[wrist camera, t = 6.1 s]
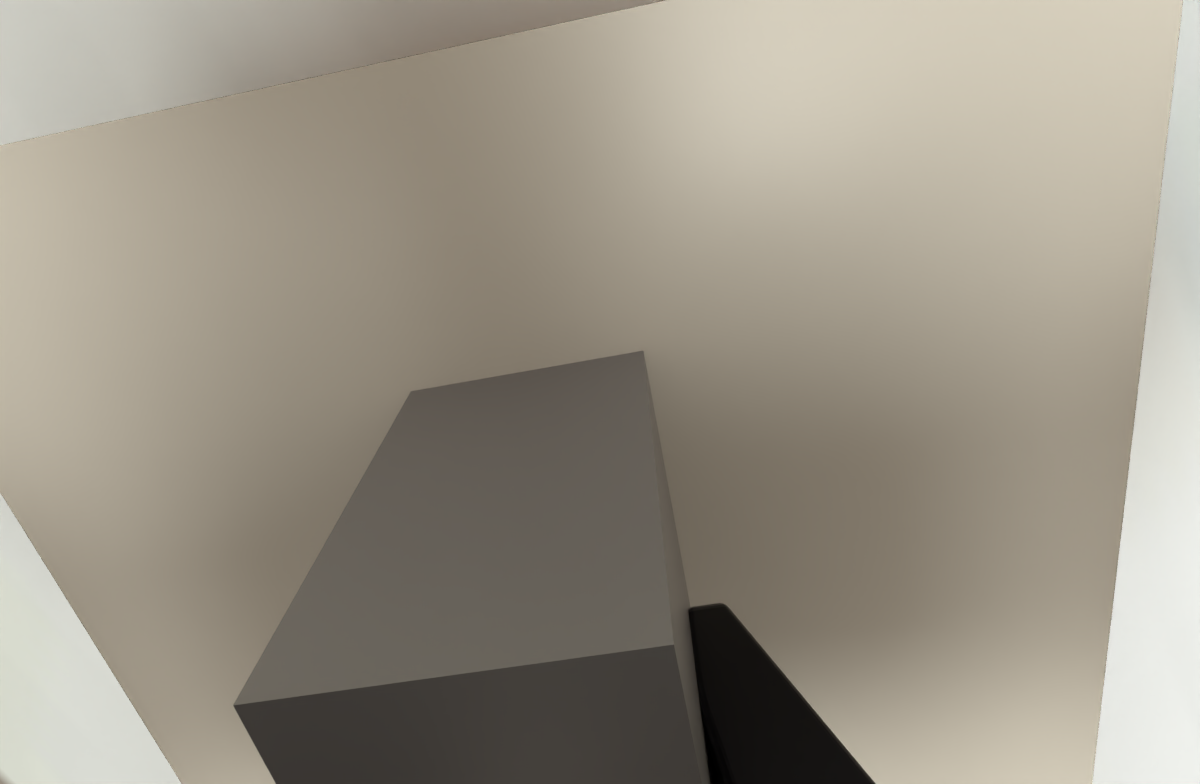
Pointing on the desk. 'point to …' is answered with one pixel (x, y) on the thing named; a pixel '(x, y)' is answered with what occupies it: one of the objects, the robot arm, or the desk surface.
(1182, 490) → the desk surface
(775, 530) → the lid
